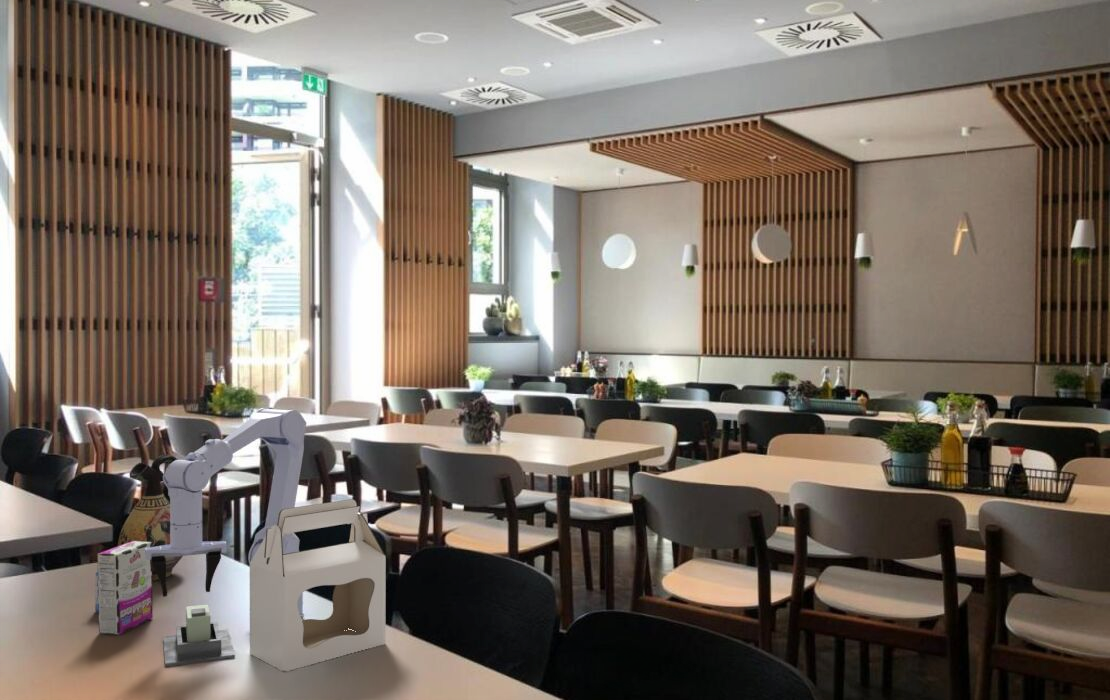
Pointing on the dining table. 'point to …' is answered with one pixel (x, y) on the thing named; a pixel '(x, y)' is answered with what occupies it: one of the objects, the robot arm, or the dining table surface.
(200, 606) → the pale green block
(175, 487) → the robot arm
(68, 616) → the dining table surface
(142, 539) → the ceramic jug
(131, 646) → the dining table surface
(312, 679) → the dining table surface
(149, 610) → the candy bar box
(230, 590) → the dining table surface
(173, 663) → the chassis
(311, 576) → the gable box
